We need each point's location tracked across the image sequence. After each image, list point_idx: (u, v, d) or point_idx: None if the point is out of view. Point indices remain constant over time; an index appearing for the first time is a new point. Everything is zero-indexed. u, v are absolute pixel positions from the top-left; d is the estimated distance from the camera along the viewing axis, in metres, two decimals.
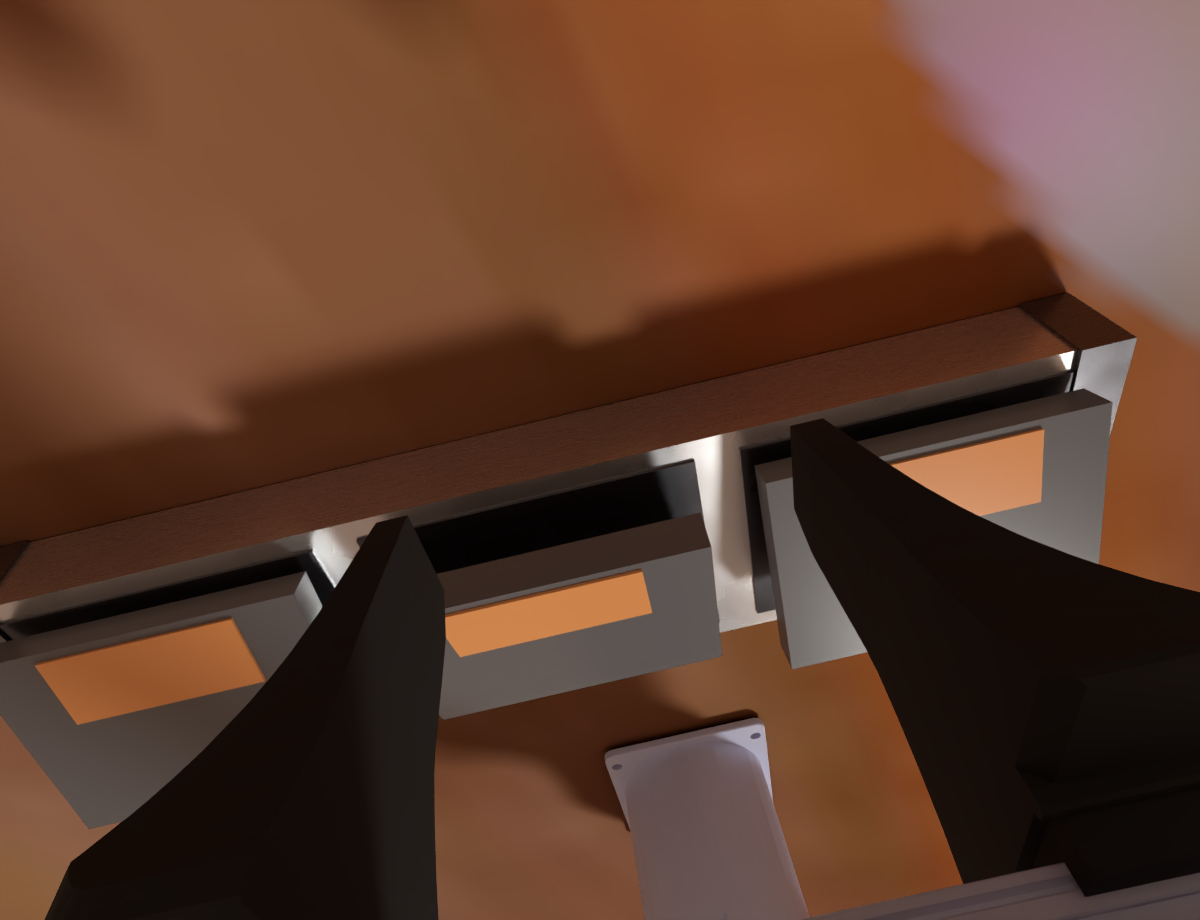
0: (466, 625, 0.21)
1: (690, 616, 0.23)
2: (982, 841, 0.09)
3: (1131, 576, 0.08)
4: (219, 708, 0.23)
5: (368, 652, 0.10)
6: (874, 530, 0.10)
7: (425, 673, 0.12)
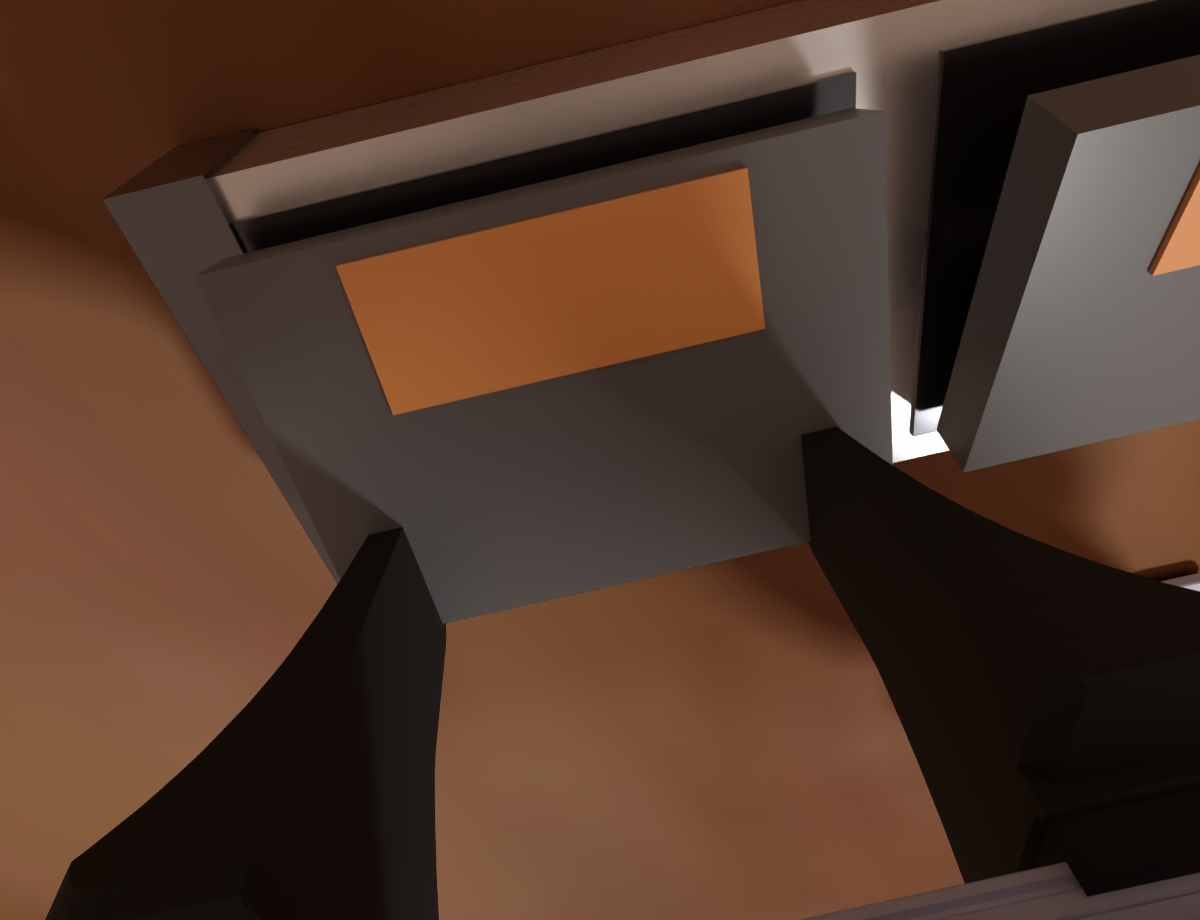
0: None
1: None
2: (984, 841, 0.09)
3: (1133, 576, 0.08)
4: (659, 391, 0.12)
5: (369, 652, 0.10)
6: (876, 530, 0.10)
7: (426, 673, 0.12)
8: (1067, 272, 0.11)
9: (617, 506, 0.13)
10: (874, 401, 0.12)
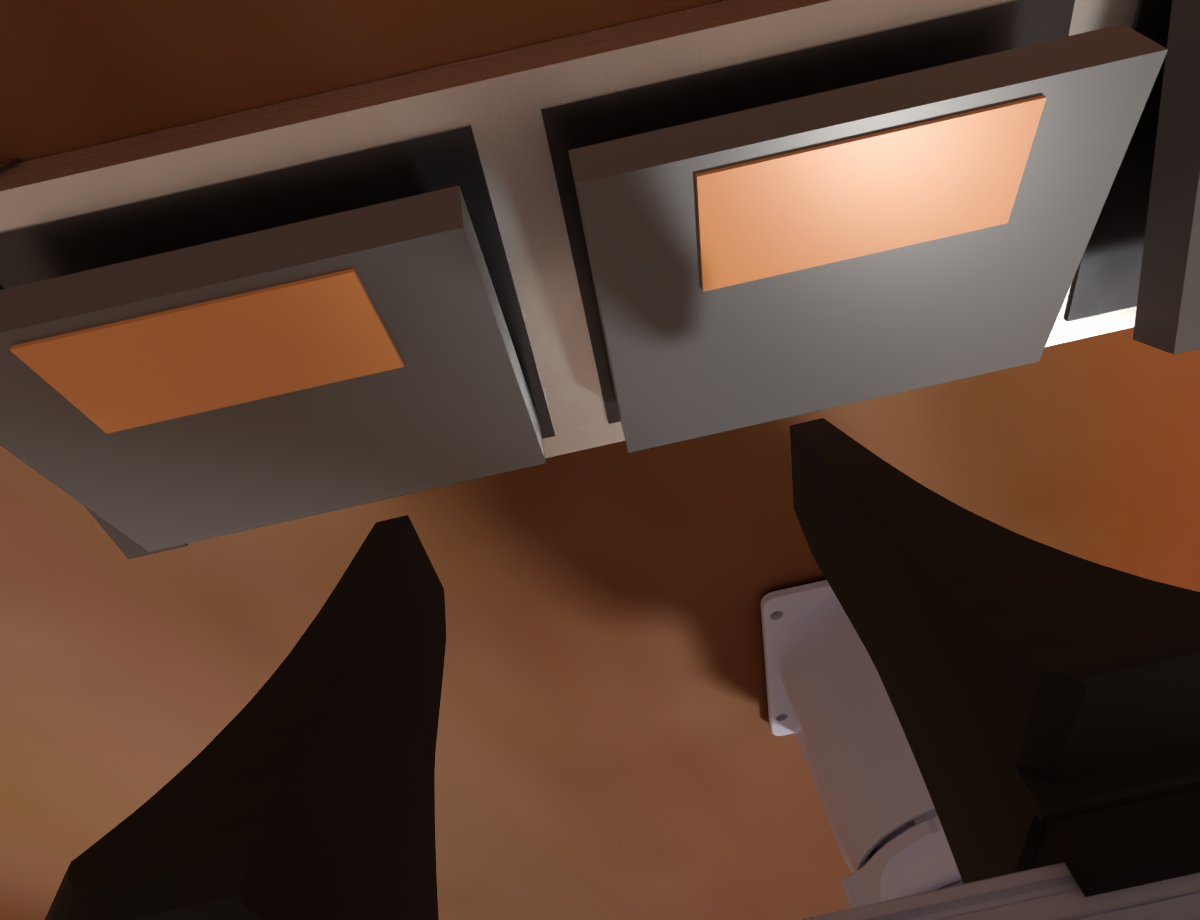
0: (739, 203, 0.13)
1: (1047, 248, 0.15)
2: (982, 841, 0.09)
3: (1131, 576, 0.08)
4: (330, 404, 0.15)
5: (368, 652, 0.10)
6: (874, 530, 0.10)
7: (425, 673, 0.12)
8: (629, 288, 0.14)
9: (320, 469, 0.17)
10: (510, 399, 0.16)
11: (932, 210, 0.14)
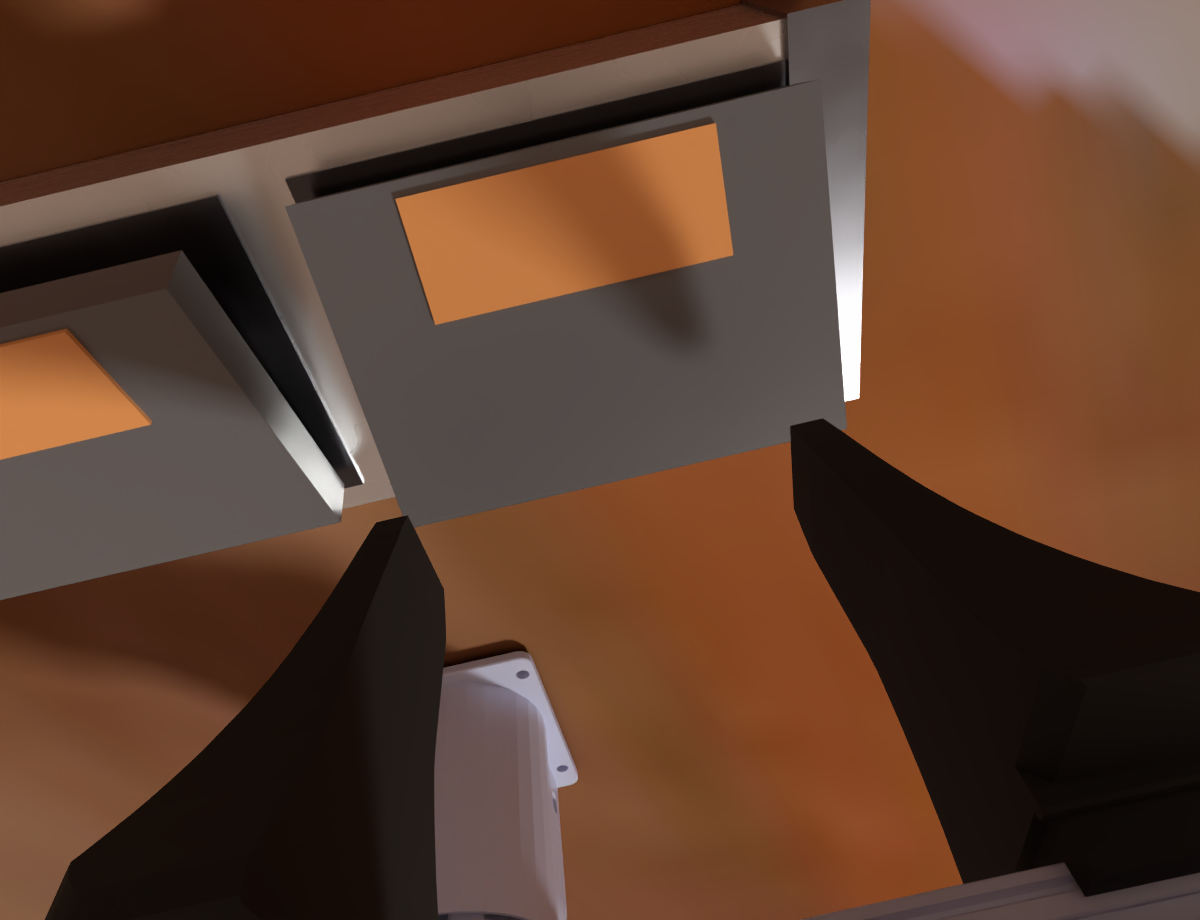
0: None
1: (231, 438, 0.15)
2: (982, 841, 0.09)
3: (1131, 576, 0.08)
4: None
5: (368, 652, 0.10)
6: (874, 530, 0.10)
7: (425, 673, 0.12)
8: None
9: None
10: None
11: (48, 419, 0.14)
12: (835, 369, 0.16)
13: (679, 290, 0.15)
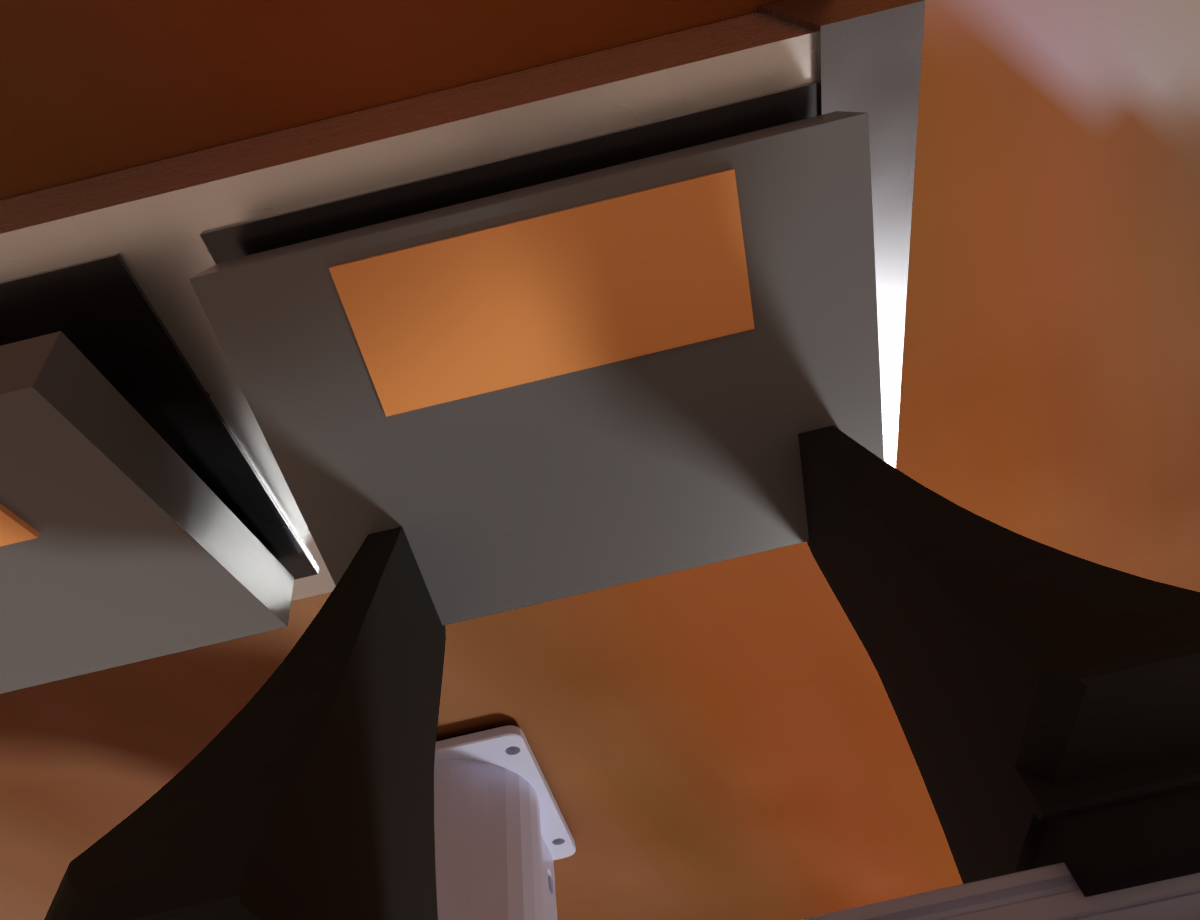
0: None
1: (142, 547, 0.13)
2: (982, 841, 0.09)
3: (1131, 576, 0.08)
4: None
5: (368, 653, 0.10)
6: (874, 530, 0.10)
7: (424, 673, 0.12)
8: None
9: None
10: None
11: None
12: None
13: (687, 370, 0.12)
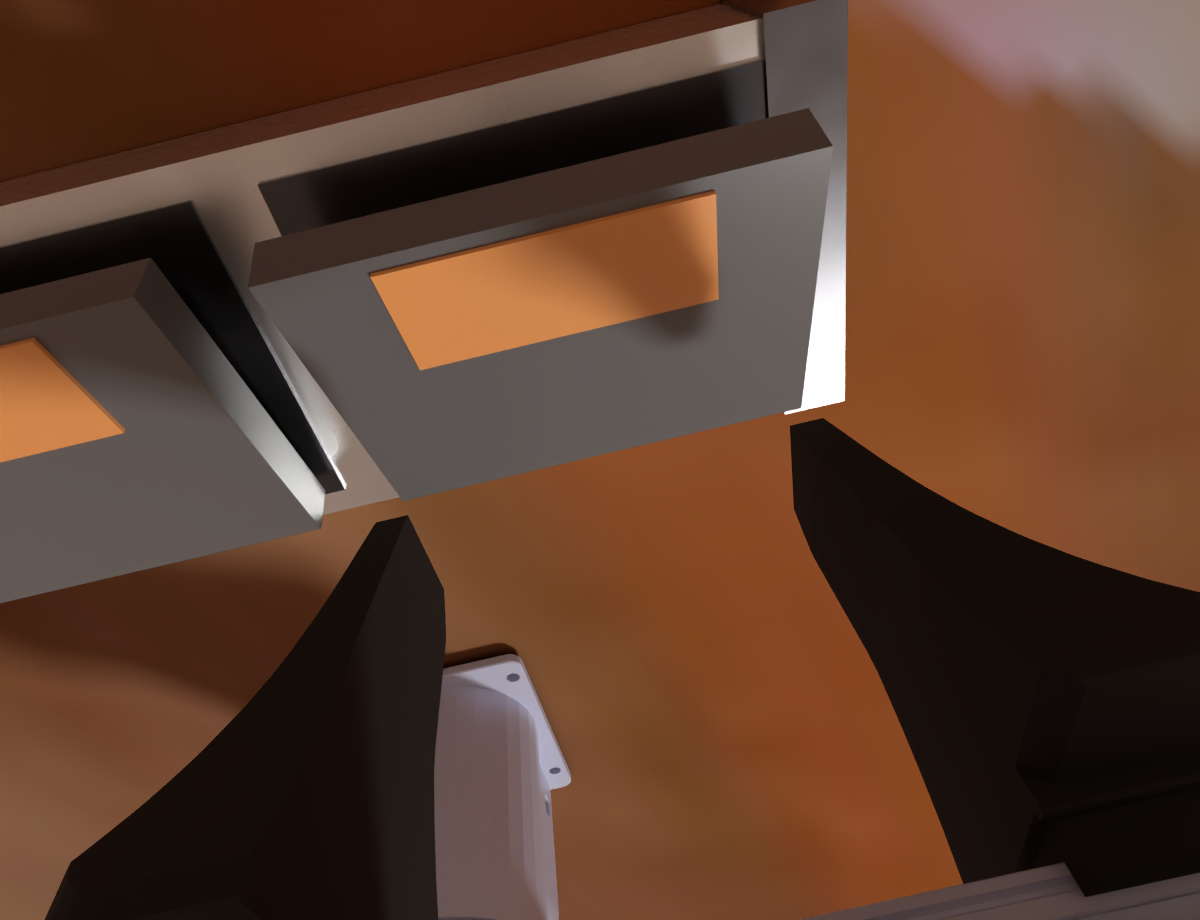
0: None
1: (206, 446, 0.15)
2: (982, 841, 0.09)
3: (1131, 576, 0.08)
4: None
5: (368, 652, 0.10)
6: (874, 530, 0.10)
7: (425, 673, 0.12)
8: None
9: None
10: None
11: (20, 429, 0.14)
12: (799, 370, 0.17)
13: (662, 326, 0.15)
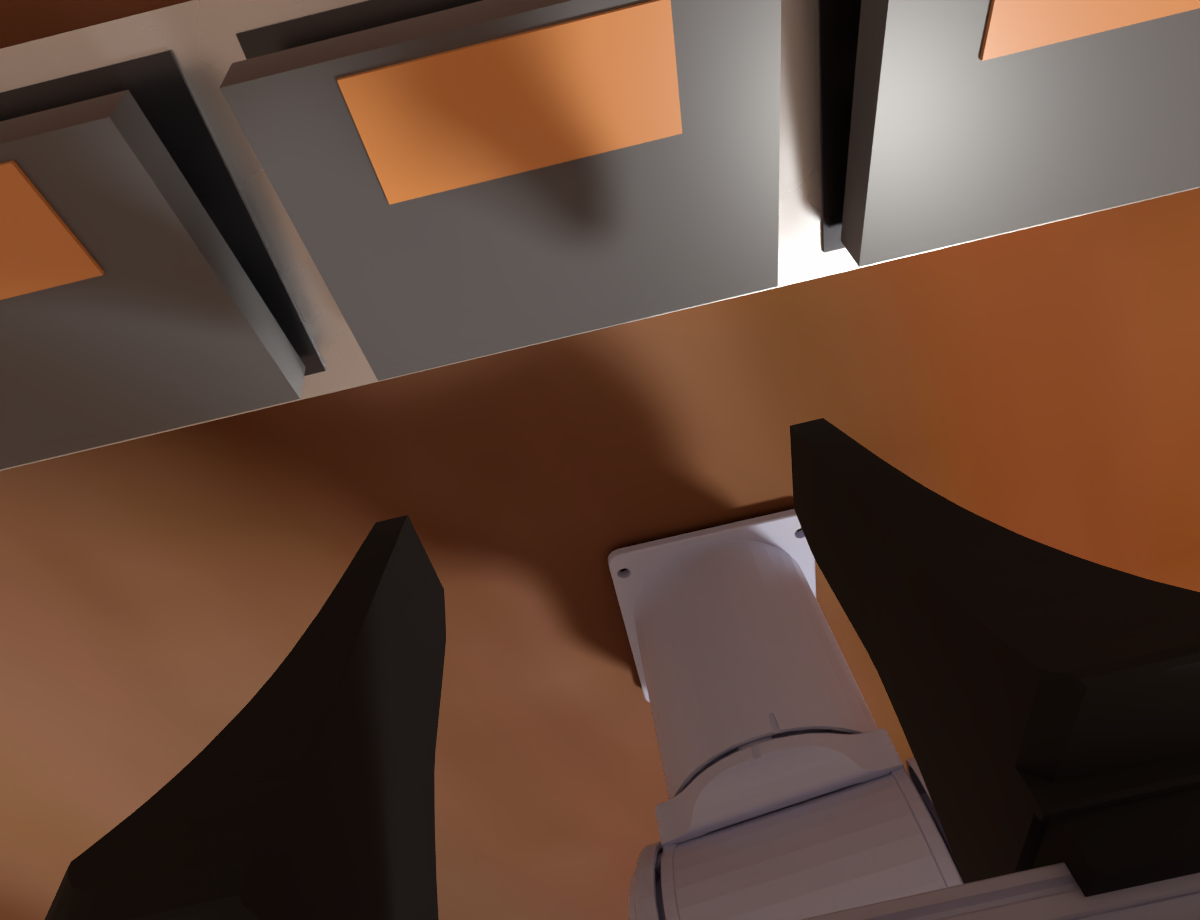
0: (392, 109, 0.13)
1: (738, 162, 0.15)
2: (982, 841, 0.09)
3: (1131, 576, 0.08)
4: (44, 318, 0.15)
5: (368, 653, 0.10)
6: (874, 530, 0.10)
7: (425, 673, 0.12)
8: (313, 200, 0.14)
9: (62, 396, 0.17)
10: (232, 320, 0.16)
11: (597, 118, 0.14)
12: None
13: None
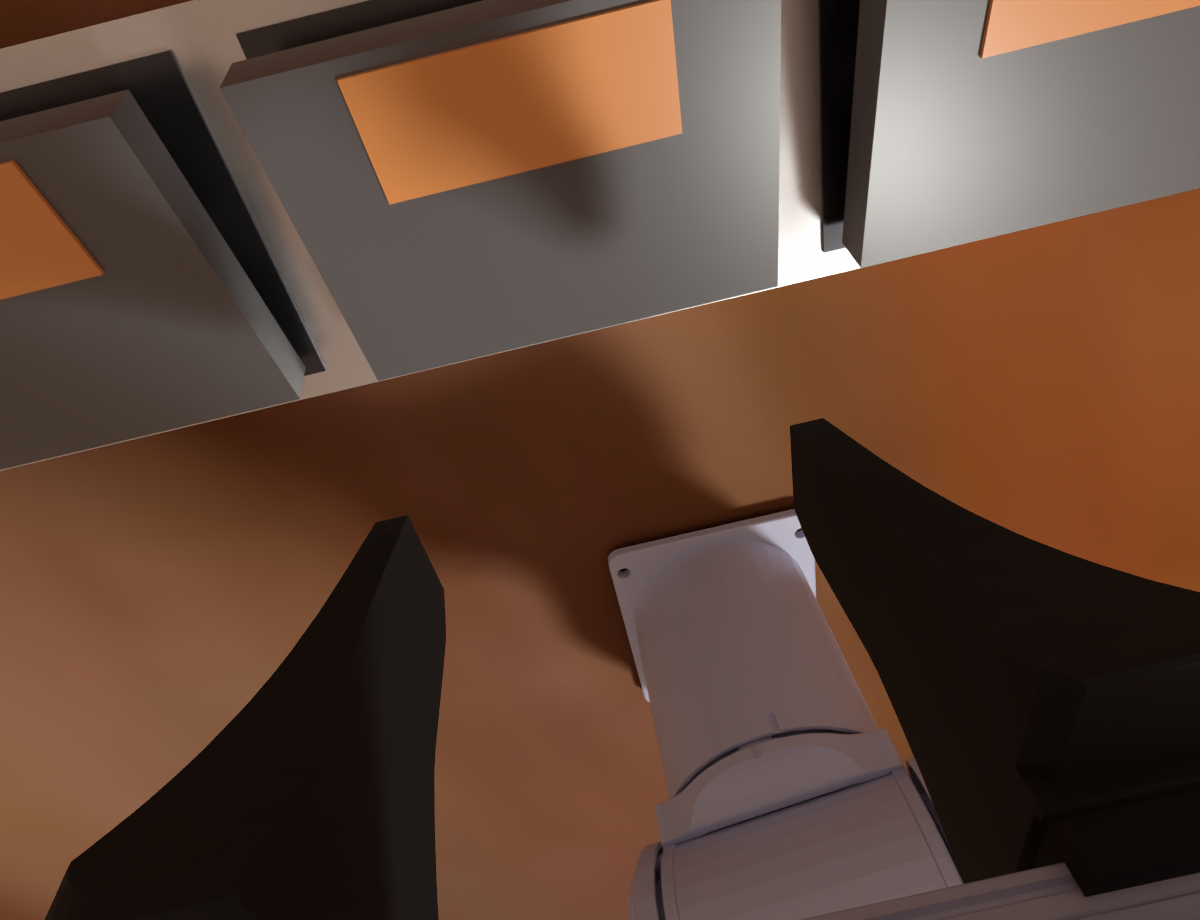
0: (392, 109, 0.13)
1: (738, 162, 0.15)
2: (982, 841, 0.09)
3: (1131, 576, 0.08)
4: (44, 318, 0.15)
5: (368, 653, 0.10)
6: (874, 530, 0.10)
7: (425, 673, 0.12)
8: (313, 200, 0.14)
9: (62, 396, 0.17)
10: (232, 320, 0.16)
11: (597, 118, 0.14)
12: None
13: None
